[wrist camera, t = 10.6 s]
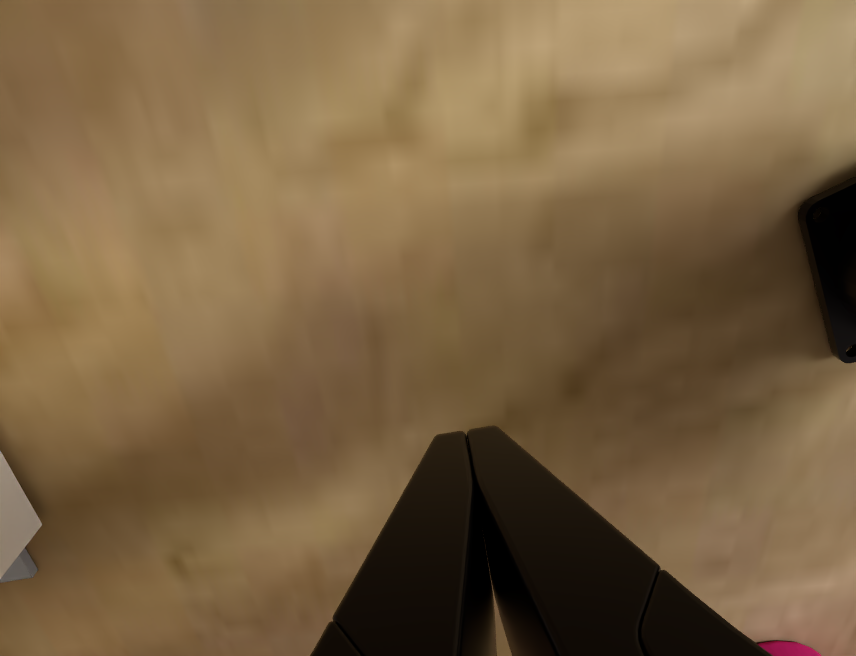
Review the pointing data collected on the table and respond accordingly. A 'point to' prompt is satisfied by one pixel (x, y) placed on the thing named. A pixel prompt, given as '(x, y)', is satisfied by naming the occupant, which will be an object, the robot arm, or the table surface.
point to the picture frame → (14, 517)
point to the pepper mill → (788, 649)
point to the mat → (20, 568)
